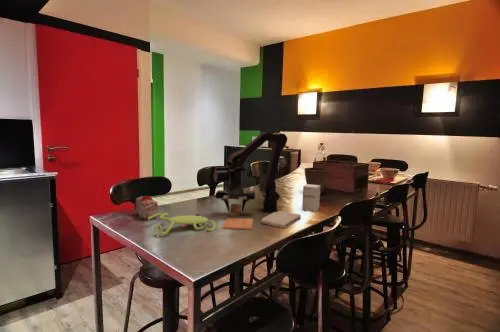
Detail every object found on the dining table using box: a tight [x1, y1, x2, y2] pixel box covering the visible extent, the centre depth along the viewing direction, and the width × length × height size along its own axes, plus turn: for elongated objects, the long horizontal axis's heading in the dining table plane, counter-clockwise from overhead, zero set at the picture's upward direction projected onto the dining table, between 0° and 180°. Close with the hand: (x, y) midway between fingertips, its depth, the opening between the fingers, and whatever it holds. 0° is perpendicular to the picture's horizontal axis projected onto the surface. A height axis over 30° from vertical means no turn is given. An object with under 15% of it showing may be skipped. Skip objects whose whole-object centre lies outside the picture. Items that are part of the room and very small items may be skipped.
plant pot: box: [304, 167, 329, 195], centre depth 188 cm, size 15×15×16 cm
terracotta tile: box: [222, 217, 254, 231], centre depth 127 cm, size 12×12×1 cm
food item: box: [135, 195, 159, 221], centre depth 137 cm, size 14×8×10 cm, turn 40°
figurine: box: [148, 212, 217, 238], centre depth 123 cm, size 18×27×6 cm
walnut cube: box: [229, 203, 242, 217], centre depth 142 cm, size 5×5×5 cm
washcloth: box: [260, 210, 302, 229], centre depth 133 cm, size 12×18×3 cm, turn 147°
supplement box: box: [301, 183, 321, 213], centre depth 152 cm, size 7×7×13 cm
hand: (235, 212), depth 142 cm, fingers open, 6 cm apart
